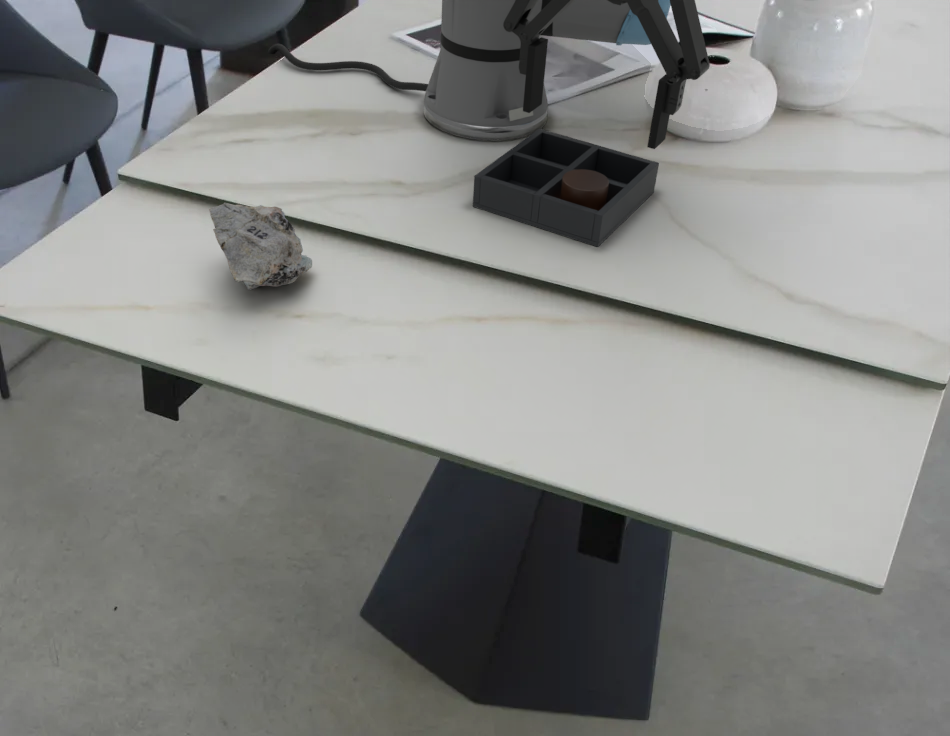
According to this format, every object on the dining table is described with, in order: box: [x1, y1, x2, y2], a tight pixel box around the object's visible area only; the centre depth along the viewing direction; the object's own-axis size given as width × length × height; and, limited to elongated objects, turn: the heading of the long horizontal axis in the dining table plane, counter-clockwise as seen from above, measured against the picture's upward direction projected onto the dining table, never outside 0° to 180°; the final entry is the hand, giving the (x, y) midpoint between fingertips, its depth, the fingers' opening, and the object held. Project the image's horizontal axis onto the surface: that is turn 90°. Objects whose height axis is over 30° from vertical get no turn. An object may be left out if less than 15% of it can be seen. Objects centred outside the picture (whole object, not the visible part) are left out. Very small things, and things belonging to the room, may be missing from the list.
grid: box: [472, 128, 660, 247], centre depth 111 cm, size 15×15×4 cm
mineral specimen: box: [208, 202, 313, 291], centre depth 95 cm, size 10×8×10 cm
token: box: [560, 169, 609, 211], centre depth 107 cm, size 5×5×4 cm
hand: (592, 125), depth 102 cm, fingers open, 13 cm apart
